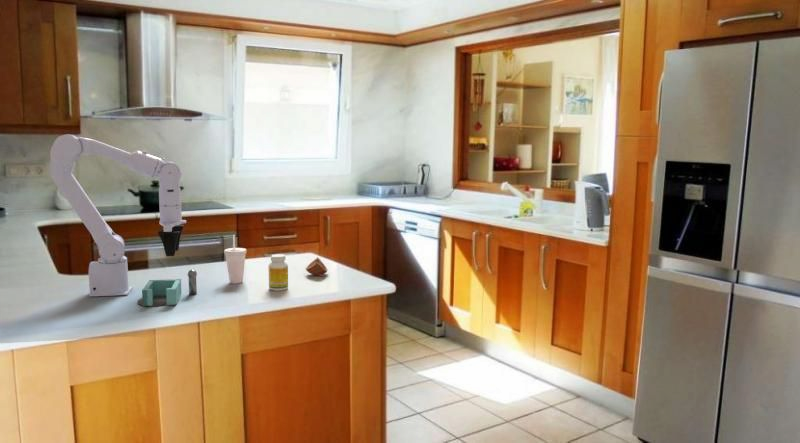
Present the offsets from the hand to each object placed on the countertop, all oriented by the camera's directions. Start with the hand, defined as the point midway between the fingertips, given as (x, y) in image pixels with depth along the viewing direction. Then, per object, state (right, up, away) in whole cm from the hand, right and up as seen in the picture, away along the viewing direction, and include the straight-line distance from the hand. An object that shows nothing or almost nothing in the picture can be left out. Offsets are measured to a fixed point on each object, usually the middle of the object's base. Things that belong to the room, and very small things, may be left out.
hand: (172, 253), depth 177 cm
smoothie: (+16, -9, +9) cm, 20 cm away
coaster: (+1, -12, -13) cm, 17 cm away
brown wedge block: (+38, -8, +19) cm, 43 cm away
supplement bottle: (+30, -10, +2) cm, 31 cm away
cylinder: (+7, -11, -5) cm, 14 cm away
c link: (+2, -11, -12) cm, 17 cm away
